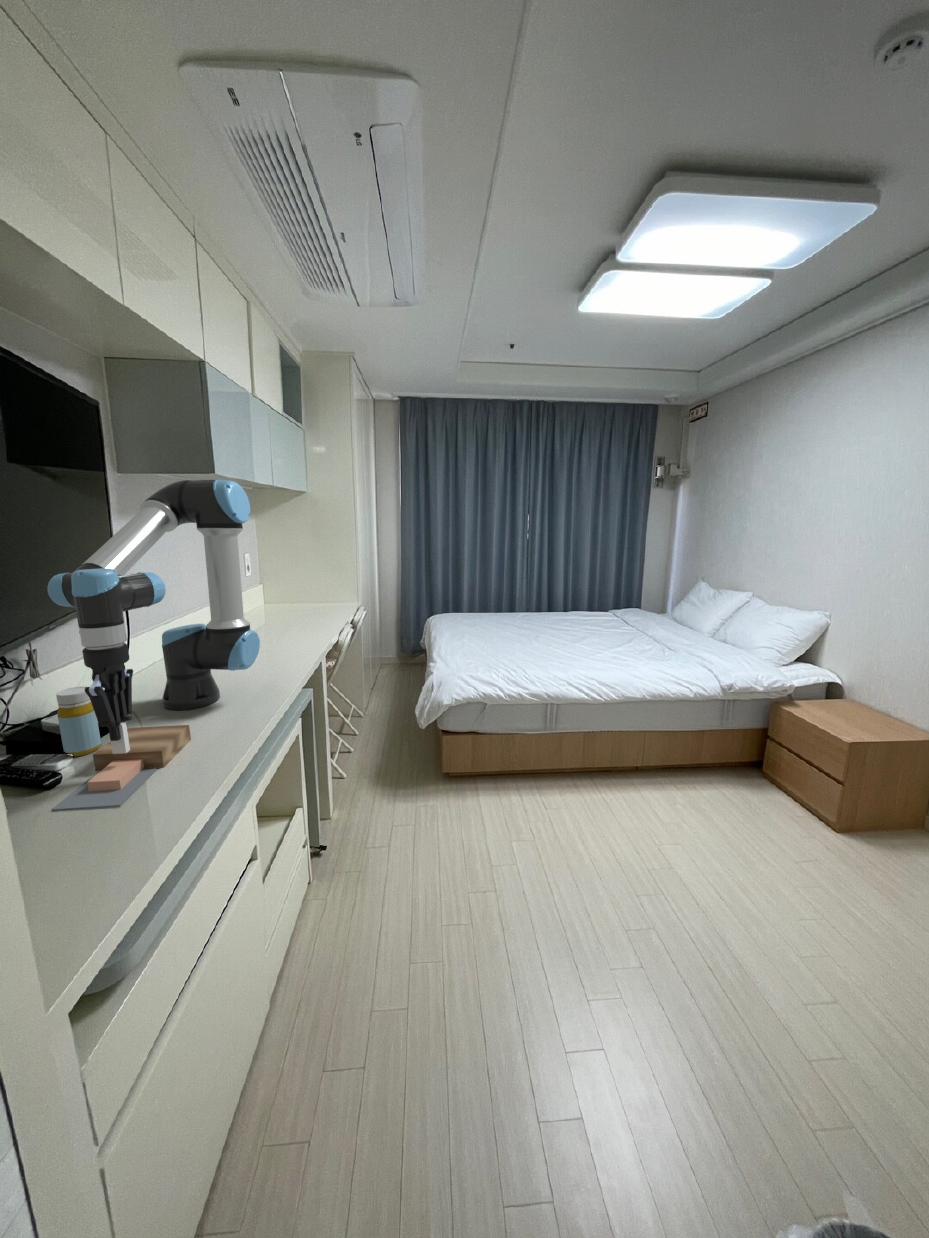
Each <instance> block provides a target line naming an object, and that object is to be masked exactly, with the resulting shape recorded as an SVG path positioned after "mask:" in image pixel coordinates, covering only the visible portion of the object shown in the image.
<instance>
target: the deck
mask: <svg viewBox="0 0 929 1238" xmlns="http://www.w3.org/2000/svg"><path fill="white" fill-rule="evenodd" d="M127 732H128V739H129V746H130V751H128V752H127V753H122V754H113V753H112V747H111V740H110V741H109V742H108V743H106V744H105V745H104V746H102V747H101V748H99V749H98V750H96V751H95V752H93V754H92V758H93V764H94V770H95V772H100V771H102V770H103V769H104V768H105V767H106V766H108V765H109V764H110V763H111V762H112V761H116V760H133V759H143V763H144V768H143V769H163V768H165V767H166V766H167V765H168V764H169V763H170V762H171V761H172V760H173V759H174V758H175V757H176V756H177V755H178V754H179V753H180V752H181V751H182V750H183V749H184V748H185V747H186V746H187V745H188V744H189V743H190V741H191V740H192V737H191V730H190V724H179V725H162V726H159V725H157V726H156V725H155V726H139V727H138V726H137V727H135V726H134V727H127Z"/></svg>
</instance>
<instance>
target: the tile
mask: <svg viewBox="0 0 929 1238" xmlns="http://www.w3.org/2000/svg"><path fill="white" fill-rule="evenodd" d="M143 768H144V763H143V759H133V760H116V761H112V762H111V763H110V764H109V765H108V766H106V767H105V768H104V769H103V770H102V771H98V772H99V773H98V774H97V775H95V776H94V777H93V778H92V779H91V780H89V781H88V782H87V784H88V789H89V791H103V790H119V789H122V788H123V787H124V786H125V785H126V784H127V783H128V782H129V781H130V780H131V779H132V778H133V777H135V776H136V775H137V774H138V773H139V772H140V771H141V770H142V769H143Z"/></svg>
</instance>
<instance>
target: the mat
mask: <svg viewBox="0 0 929 1238" xmlns="http://www.w3.org/2000/svg"><path fill="white" fill-rule="evenodd" d="M157 769H158V768H149V769H142V770H141V771H140V772H139V773H138V774H137V775H136V776H135V777H133V778H132V779H131V780H130V781H129V782H128V783H127V784H126V785H125V786H124V787H123V788H122V789H119V790H103V791H89V789H88V784H87V782H88V781H89V780H91V779H92V778H93V777H94V776H95V775H97V774H98V773H99V772H100V771H96V772H95V773H94V774H92V776H91V777H89V778H88V779H87V780H86V781H84V782H83V783H82V784H80V785H79V787H77V788H76V789H74V790H73V791H72V792H71V793H70V794H68V796H65V798H64V799H62V800H61V801H60V802H58V804H56V805H55V806H54V807H52V808H51V812H61V811H64V812H65V811H75V810H77V811H78V810H79V811H80V810H91V809H93V810H94V809H106V808H107V809H108V808H120V807H122V806H123V805H124V804H125V803H126V802H127V801H128V800H129V799H130V798H131V797H132V796H133V794H135V792H137V791H138V790H139V789H140V788H141V787H142V786H143V785H144V784H145V783H146V782H147V780H149V779H150V778H151V776H153V775H154V774H155V772H156V771H157Z"/></svg>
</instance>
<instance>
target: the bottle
mask: <svg viewBox="0 0 929 1238" xmlns="http://www.w3.org/2000/svg"><path fill="white" fill-rule="evenodd" d="M86 687H87V686H76V687H75V686H74V687H68V688H64V689H61V690H59V691H58V692H56V694H55V696H56V700H57V706H58V709H57V711H56V712H57V713H56V715H57V721H58V726H59V732H60V736H61V743H62V748H63V753H64V752H65V753H68V754H72V755H73V756H74V758H75V757H83V756H86V755H90V754H92V753H96V752H97V751H98V750H99V749H100V747H101V746H102V740H101V735H100V729H99V728H100V726H99V723H98V720H97V717H96V714H95V712H94V709H93V706H92V703H91V701H90V698H89V696H88V695H87V694H86V693H85V688H86ZM65 753H64V754H65Z"/></svg>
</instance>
